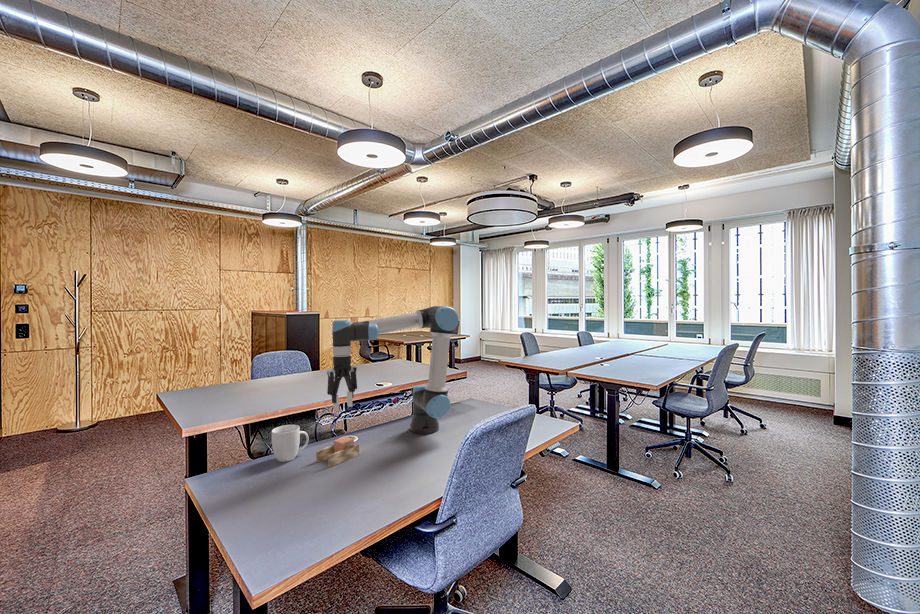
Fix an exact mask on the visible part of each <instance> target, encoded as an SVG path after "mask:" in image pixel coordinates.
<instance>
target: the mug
mask: <svg viewBox="0 0 920 614" xmlns="http://www.w3.org/2000/svg"><path fill="white" fill-rule="evenodd" d="M300 429H301V427H300V425H298V424H285V425H280V426H278V427H274V428H273V429H272V430H271V448H272V452H273V456H274V457H275V458H276V460H277V461H278V462H281V463H285V462H290V461H293V460H294V459H295V458H296V457H297V454H298V452H301V451H303V450H304V449H305V448H306V447H307V446H308V445H309V441H310V440H309V439H310V437H309V435H308V433H307V432H306V431H303V430H300ZM302 434H303V435H305V439H306V440H305V443H304V444H303V445H302V447H300V441H301V440H300V439H301V437H300V436H301V435H302Z"/></svg>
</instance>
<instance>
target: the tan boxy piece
mask: <svg viewBox="0 0 920 614" xmlns="http://www.w3.org/2000/svg"><path fill="white" fill-rule="evenodd" d="M359 455H360V444H359V443H356V444H355V443H354V444H352V443H351V444H349V445H346V449H343V450H341V451H338V452H336V453H334V444H332V445H329V446H327V447H324V448H321V449H319V450H316V451H315V457H316V459H315V461H316V463H320V462H323V461H325V460H327V468H331V467H334V466H336V465H338V464H341V463H343V462H346V461H348V460H350V459H353V458H354V457H358V456H359Z"/></svg>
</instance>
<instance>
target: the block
mask: <svg viewBox="0 0 920 614" xmlns="http://www.w3.org/2000/svg"><path fill="white" fill-rule="evenodd" d="M351 443H352V444H354V445H355V439H354V438H351V437H348V436H345V435H344V436H343V437H340V438H337V439H334V440H333V445H334V453H336V452H338V451H341V450H343V449H346V445H349V444H351Z"/></svg>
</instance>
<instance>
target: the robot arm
mask: <svg viewBox="0 0 920 614" xmlns="http://www.w3.org/2000/svg"><path fill="white" fill-rule="evenodd" d="M459 320H460V318H459V314H458V312H457V311H456V310H455V308H453V307H451V306H447V305H441V306H439V305H434V306H430V307H426V308H422V309H417V310H415V312H411V313H406V314H400V315H394V316H388V317H387V316H386V317H383V318H377V319H369V320H364V321H354V322H352V323H351V320H349V319H337V320H334V321H333V322H332V326H331V327H332V329H331V330H332V331H331V332H332V333H331V335H332V356H333V357H332V364H333V368H332V370H330V371H329V370H328V371H327V372H326V374H327V391H326V392H327V395H328V396H331V403H332V404H333V405H332V407H333V411H337V412H338V411H340V405H339V404H340V402H339V401H340V400H339V394H338V391H339V388H340V383H341V380H342V379H343V378H344V381H345V383H346V386H347V391H346V396H347V397H346V403H347V404H346V405H347V406H346V407H350V408H352V407H353V406H354V405H353V404H354V403H353V399H354V397H355V396H354V392H355V391H356V390H357V389H358V380H357V369H358V368H357V367H355V366H351V364H352V356H351V354H352V347H351V346H352V345H351V344H352V342H359V341H360V342H362V341H375V340H377V339H378V337H379V335H382V334H388V333H394V332H399V331H404V330H410V329H415V328H417V329H429V328H430V330H429V332H430V334H431V336H432V341H431V352H430V362H429V369H428V371H429V372H428V381H427V384H419V385H415V386H413V388H412V393H411V394H412V417H411V421H410V425H409V431H410V432H411V433H413V434H418V435H419V434H420V435H425V434H428V435H429V434H433V433H435V432H437V431H439V430H440V423H439V422H438V419H441V418H443V417H445V416H446V415H448V413H449V411H450V410H451V404H452V403H451V400H450V399H449V397H448V395H449V388H448V387H447V386H446V384H447V374H448V363H449V354H450V353H449V351H450V342H451V337H452V336H453V335H454V332H455V329H456V328H457V326H458V325H459Z"/></svg>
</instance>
